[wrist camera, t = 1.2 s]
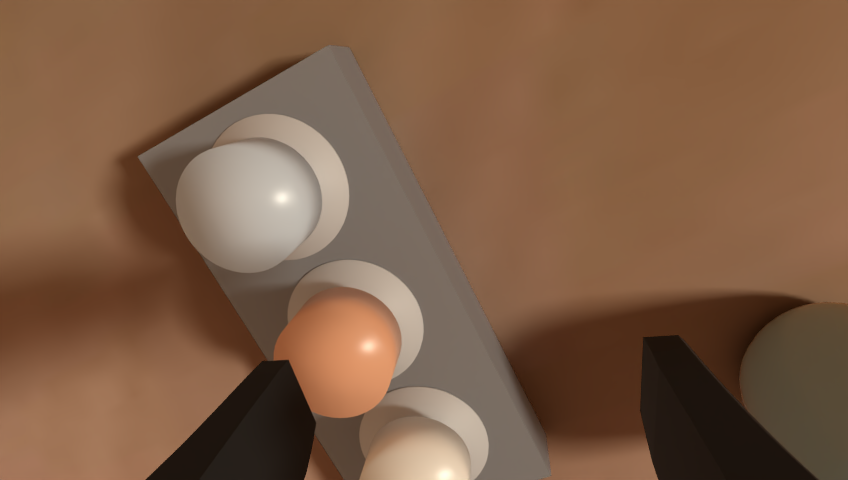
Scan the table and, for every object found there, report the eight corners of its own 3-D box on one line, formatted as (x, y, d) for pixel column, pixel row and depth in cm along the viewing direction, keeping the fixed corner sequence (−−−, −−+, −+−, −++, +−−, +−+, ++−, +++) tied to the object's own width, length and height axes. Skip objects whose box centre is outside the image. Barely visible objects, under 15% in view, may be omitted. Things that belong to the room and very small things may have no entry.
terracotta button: (420, 363, 23) (412, 396, 20) (329, 397, 24) (311, 432, 22) (368, 270, 22) (353, 294, 19) (275, 310, 23) (251, 337, 21)
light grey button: (343, 224, 21) (324, 243, 19) (249, 268, 22) (221, 291, 20) (282, 116, 20) (255, 122, 18) (187, 169, 21) (151, 181, 19)
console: (545, 434, 28) (551, 477, 25) (385, 484, 31) (373, 528, 28) (349, 47, 23) (327, 45, 20) (177, 146, 26) (135, 156, 23)
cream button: (487, 484, 24) (486, 526, 22) (398, 510, 26) (389, 553, 23) (442, 403, 23) (436, 439, 21) (351, 434, 24) (337, 472, 22)
